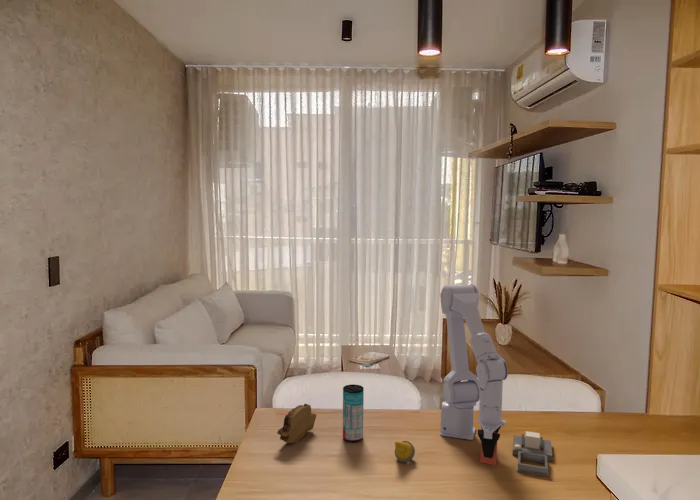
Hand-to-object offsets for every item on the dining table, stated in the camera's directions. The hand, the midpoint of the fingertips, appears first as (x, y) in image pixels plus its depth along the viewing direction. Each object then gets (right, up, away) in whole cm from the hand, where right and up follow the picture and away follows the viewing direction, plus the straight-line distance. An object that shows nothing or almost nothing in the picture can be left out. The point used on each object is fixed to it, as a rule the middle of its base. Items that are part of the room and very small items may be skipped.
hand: (488, 453), depth 137 cm
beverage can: (-36, -1, +12) cm, 38 cm away
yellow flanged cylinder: (-23, -2, -1) cm, 23 cm away
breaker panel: (+14, -1, +6) cm, 15 cm away
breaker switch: (+13, 0, +5) cm, 14 cm away
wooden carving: (-52, -1, +11) cm, 53 cm away
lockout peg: (0, -2, 0) cm, 2 cm away
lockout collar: (+10, -2, -3) cm, 11 cm away
